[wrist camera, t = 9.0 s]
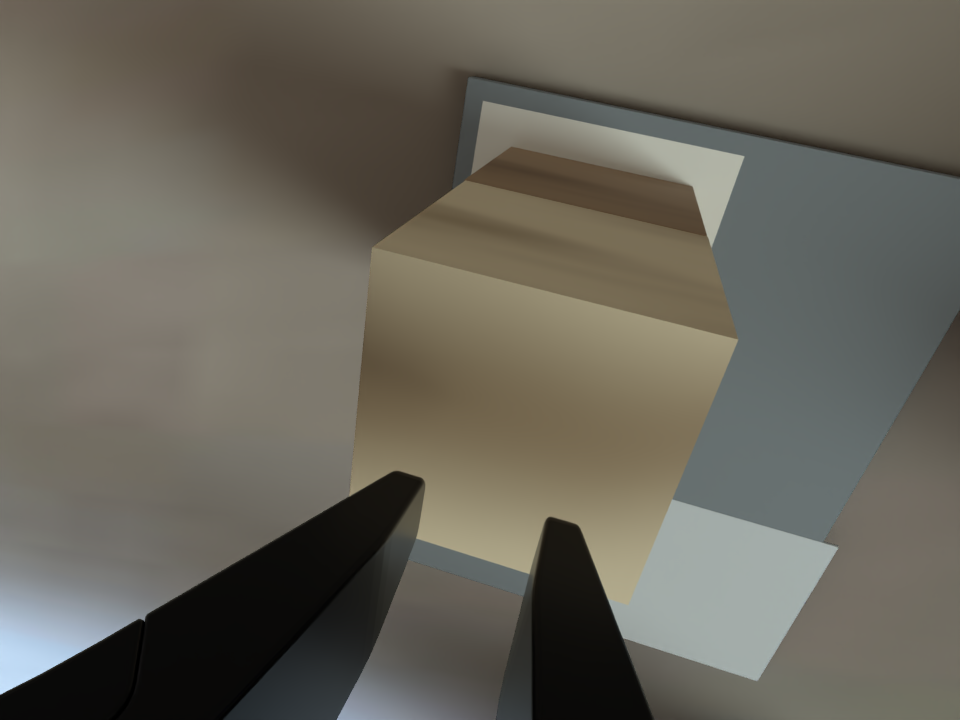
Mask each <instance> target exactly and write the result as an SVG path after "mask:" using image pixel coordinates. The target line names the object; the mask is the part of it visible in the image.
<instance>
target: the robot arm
mask: <svg viewBox="0 0 960 720" xmlns="http://www.w3.org/2000/svg"><path fill="white" fill-rule="evenodd" d="M424 493H425V481H424V480H423V478H421V477H418V476H415V475H411V474H408V473H405V472H401V471H393V472H390V473H389V474H387V475H385V476H383V477H382V478H380V479H378V480H377V481H375V482H373V483H371V484H370V485H368V486H366V487H365V488H363V489H361V490H359V491H358V492H356V493H354V494H353V495H351V496H349V497H347V498H346V499H344V500H342V501H341V502H339V503H337V504H335V505H334V506H332V507H330V508H329V509H327V510H325V511H323V512H322V513H320V514H318V515H317V516H315V517H313V518H311V519H310V520H308V521H306V522H305V523H303V524H301V525H299V526H298V527H296V528H294V529H293V530H291V531H289V532H287V533H286V534H284V535H282V536H281V537H279V538H277V539H275V540H274V541H272V542H270V543H269V544H267V545H265V546H263V547H262V548H260V549H258V550H257V551H255V552H253V553H251V554H250V555H248V556H246V557H245V558H243V559H241V560H239V561H238V562H236V563H234V564H233V565H231V566H229V567H227V568H226V569H224V570H222V571H221V572H219V573H217V574H215V575H214V576H212V577H210V578H209V579H207V580H205V581H203V582H202V583H200V584H198V585H197V586H195V587H193V588H191V589H190V590H188V591H186V592H184V593H183V594H181V595H179V596H178V597H176V598H174V599H172V600H171V601H169V602H167V603H166V604H164V605H162V606H160V607H159V608H157V609H155V610H154V611H152V612H150V613H148V614H147V615H146V617H145V622H144V621H143V620H141V619H138V620H136V621H134V622H132V623H131V624H129V625H127V626H126V627H124V628H122V629H120V630H119V631H117V632H115V633H114V634H112V635H110V636H108V637H107V638H105V639H103V640H102V641H100V642H98V643H96V644H94V645H93V646H91V647H89V648H87V649H85V650H84V651H82V652H80V653H78V654H76V655H74V656H73V657H71V658H69V659H67V660H65V661H64V662H62V663H60V664H58V665H56V666H55V667H53V668H51V669H49V670H47V671H46V672H44V673H42V674H40V675H38V676H36V677H34V678H32V679H30V680H28V681H26V682H24V683H22V684H20V685H18V686H16V687H14V688H12V689H10V690H9V691H7V692H5V693H3V694H1V695H0V720H337V718H338V716H339V714H340V712H341V710H342V708H343V706H344V705H345V703H346V701H347V699H348V697H349V695H350V693H351V691H352V690H353V688H354V686H355V684H356V682H357V680H358V678H359V676H360V674H361V673H362V671H363V669H364V666H365V664H366V662H367V660H368V658H369V656H370V654H371V652H372V650H373V647H374V645H375V643H376V640H377V638H378V636H379V633H380V630H381V628H382V625H383V623H384V620H385V618H386V615H387V613H388V610H389V607H390V605H391V602H392V600H393V597H394V595H395V592H396V589H397V587H398V584H399V582H400V579H401V577H402V574H403V572H404V569H405V566H406V564H407V561H408V559H409V556H410V554H411V551H412V548H413V546H414V543H415V540H416V537H417V533H418V529H419V524H420V518H421V512H422V505H423V499H424ZM496 720H654V718H653V715H652V713H651V710H650V708H649V705H648V702H647V700H646V697H645V694H644V692H643V689H642V687H641V684H640V681H639V679H638V676H637V674H636V671H635V668H634V666H633V663H632V661H631V658H630V655H629V653H628V650H627V648H626V645H625V642H624V640H623V637H622V635H621V632H620V629H619V627H618V624H617V622H616V619H615V616H614V614H613V611H612V609H611V606H610V603H609V601H608V598H607V596H606V593H605V590H604V588H603V585H602V583H601V580H600V577H599V575H598V572H597V570H596V567H595V564H594V562H593V559H592V557H591V554H590V551H589V549H588V546H587V544H586V541H585V538H584V536H583V533H582V531H581V528H580V527H579V526H578V525H577V524H575V523H572V522H568V521H565V520H562V519H558V518H555V517H548V518H547V519H546V520H545V522H544V525H543V528H542V532H541V535H540V539H539V542H538V545H537V549H536V552H535V556H534V559H533V563H532V566H531V570H530V574H529V577H528V581H527V585H526V589H525V593H524V597H523V602H522V606H521V610H520V614H519V618H518V622H517V626H516V630H515V634H514V638H513V642H512V646H511V650H510V654H509V658H508V662H507V666H506V670H505V674H504V679H503V683H502V688H501V693H500V697H499V704H498V710H497V717H496Z"/></svg>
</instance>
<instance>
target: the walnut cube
mask: <svg viewBox="0 0 960 720" xmlns="http://www.w3.org/2000/svg"><path fill="white" fill-rule="evenodd" d="M465 180H466V181H471V182H475V183H479V184H483V185H488V186H492V187H496V188H501V189H505V190H509V191H514V192H518V193H522V194H526V195H531V196H535V197H539V198H544V199H548V200H552V201H556V202H561V203H565V204H569V205H574V206H578V207H582V208H587V209H591V210H595V211H599V212H604V213H608V214H612V215H617V216H621V217H625V218H630V219H634V220H638V221H642V222H647V223H651V224H655V225H660V226H664V227H668V228H673V229H677V230H681V231H685V232H690V233H694V234H698V235H703V236H707V234H706V230H705V227H704V223H703V220H702V217H701V213H700V210H699V206H698V203H697V200H696V196H695V193H694V189H693V186H688V185H684V184H679V183H675V182H670V181H665V180H661V179H656V178H652V177H647V176H643V175H638V174H634V173H629V172H625V171H620V170H616V169H611V168H607V167H602V166H598V165H593V164H588V163H584V162H579V161H575V160H570V159H566V158H561V157H557V156H552V155H548V154H543V153H539V152H534V151H530V150H525V149H520V148H516V147H510V148H509V149H507V150H506V151H504V152H503V153H502V154H500V155H499V156H497V157H496V158H494V159H493V160H492V161H490V162H489V163H487V164H486V165H485V166H483V167H482V168H480V169H479V170H477V171H476V172H475V173H473V174H472V175H470V176H469V177H468V178H466V179H465ZM465 180H464V181H465Z"/></svg>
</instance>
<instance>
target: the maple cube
mask: <svg viewBox="0 0 960 720" xmlns="http://www.w3.org/2000/svg"><path fill="white" fill-rule="evenodd" d="M737 342H738V336H737V333H736V330H735V326H734V323H733V320H732V316H731V313H730V310H729V306H728V303H727V299H726V296H725V293H724V289H723V286H722V283H721V279H720V276H719V272H718V269H717V266H716V262H715V259H714V256H713V252H712V249H711V245H710V242H709V239H708V237H707V236H703V235H698V234H694V233H690V232H685V231H681V230H677V229H673V228H668V227H664V226H660V225H655V224H651V223H647V222H642V221H638V220H634V219H630V218H625V217H621V216H617V215H612V214H608V213H604V212H599V211H595V210H591V209H587V208H582V207H578V206H574V205H569V204H565V203H561V202H556V201H552V200H548V199H544V198H539V197H535V196H531V195H526V194H522V193H518V192H514V191H509V190H505V189H501V188H496V187H492V186H488V185H483V184H479V183H475V182H471V181H466V180H465V181H464V182H463V183H461V184H460V185H458V186H457V187H456V188H454V189H453V190H451V191H450V192H449V193H447V194H446V195H444V196H443V197H442V198H440V199H439V200H437V201H436V202H435V203H433V204H432V205H430V206H429V207H428V208H426V209H425V210H423V211H422V212H421V213H419V214H418V215H416V216H415V217H414V218H412V219H411V220H409V221H408V222H407V223H405V224H404V225H402V226H401V227H400V228H398V229H397V230H395V231H394V232H393V233H391V234H390V235H388V236H387V237H386V238H384V239H383V240H381V241H380V242H379V243H377V244H376V245H374V246H373V247H372V254H371V265H370V276H369V287H368V298H367V309H366V320H365V331H364V341H363V352H362V363H361V374H360V385H359V396H358V407H357V418H356V429H355V440H354V451H353V462H352V473H351V484H350V495H349V496H351V495H353V494H354V493H356V492H358V491H359V490H361V489H363V488H365V487H366V486H368V485H370V484H371V483H373V482H375V481H377V480H378V479H380V478H382V477H383V476H385V475H387V474H389V473H390V472H393V471H401V472H405V473H408V474H411V475H415V476H418V477H421V478H423V480H424V481H425V493H424V499H423V505H422V512H421V518H420V524H419V529H418V533H417V537H416V539H420V540H423V541H426V542H429V543H432V544H436V545H439V546H442V547H445V548H448V549H451V550H455V551H458V552H461V553H464V554H467V555H470V556H474V557H477V558H480V559H483V560H486V561H489V562H493V563H496V564H499V565H502V566H505V567H508V568H512V569H515V570H518V571H521V572H524V573H528V574H530V570H531V566H532V563H533V559H534V556H535V552H536V549H537V545H538V542H539V539H540V535H541V532H542V528H543V525H544V522H545V520H546V519H547V518H548V517H555V518H558V519H562V520H565V521H568V522H572V523H575V524H577V525H578V526H579V527H580V528H581V531H582V533H583V536H584V538H585V541H586V544H587V546H588V549H589V551H590V554H591V557H592V559H593V562H594V564H595V567H596V570H597V572H598V575H599V577H600V580H601V583H602V585H603V588H604V590H605V593H606V596H607V598H608V599H610V600H613V601H616V602H620V603H623V604H626V605H629V602H630V600H631V597H632V595H633V593H634V590H635V588H636V585H637V583H638V581H639V578H640V576H641V573H642V571H643V568H644V566H645V564H646V561H647V559H648V556H649V554H650V552H651V549H652V547H653V544H654V542H655V540H656V537H657V535H658V532H659V530H660V527H661V525H662V523H663V520H664V518H665V515H666V513H667V511H668V508H669V506H670V503H671V501H672V499H673V496H674V494H675V491H676V489H677V487H678V484H679V482H680V479H681V477H682V474H683V472H684V470H685V467H686V465H687V462H688V460H689V458H690V455H691V453H692V450H693V448H694V446H695V443H696V441H697V438H698V436H699V433H700V431H701V429H702V426H703V424H704V421H705V419H706V417H707V414H708V412H709V409H710V407H711V405H712V402H713V400H714V397H715V395H716V393H717V390H718V388H719V385H720V383H721V380H722V378H723V376H724V373H725V371H726V368H727V366H728V364H729V361H730V359H731V356H732V354H733V352H734V349H735V347H736V344H737Z"/></svg>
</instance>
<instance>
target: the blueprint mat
mask: <svg viewBox="0 0 960 720" xmlns="http://www.w3.org/2000/svg"><path fill="white" fill-rule="evenodd" d="M510 147H516V148H520V149H525V150H530V151H534V152H539V153H543V154H548V155H552V156H557V157H561V158H566V159H570V160H575V161H579V162H584V163H588V164H593V165H598V166H602V167H607V168H611V169H616V170H620V171H625V172H629V173H634V174H638V175H643V176H647V177H652V178H656V179H661V180H665V181H670V182H675V183H679V184H684V185H688V186H693V189H694V193H695V196H696V200H697V203H698V206H699V210H700V213H701V217H702V220H703V223H704V227H705V230H706V234H707V237H708V239H709V242H710V245H711V249H712V252H713V256H714V259H715V262H716V266H717V269H718V272H719V276H720V279H721V283H722V286H723V289H724V293H725V296H726V299H727V303H728V306H729V310H730V313H731V316H732V320H733V323H734V326H735V330H736V333H737V336H738V342H737V344H736V347H735V349H734V352H733V354H732V356H731V359H730V361H729V364H728V366H727V368H726V371H725V373H724V376H723V378H722V380H721V383H720V385H719V388H718V390H717V393H716V395H715V397H714V400H713V402H712V405H711V407H710V409H709V412H708V414H707V417H706V419H705V421H704V424H703V426H702V429H701V431H700V433H699V436H698V438H697V441H696V443H695V446H694V448H693V450H692V453H691V455H690V458H689V460H688V462H687V465H686V467H685V470H684V472H683V474H682V477H681V479H680V482H679V484H678V487H677V489H676V491H675V494H674V496H673V499H672V501H671V503H670V506H669V508H668V511H667V513H666V515H665V518H664V520H663V523H662V525H661V527H660V530H659V532H658V535H657V537H656V540H655V542H654V544H653V547H652V549H651V552H650V554H649V556H648V559H647V561H646V564H645V566H644V568H643V571H642V573H641V576H640V578H639V581H638V583H637V585H636V588H635V590H634V593H633V595H632V597H631V600H630V602H629V605H626V604H623V603H620V602H616V601H613V600H610V599H608V601H609V603H610V606H611V609H612V611H613V614H614V616H615V619H616V622H617V624H618V627H619V629H620V632H621V635H622V637H623V638H624V639H627V640H631V641H634V642H637V643H640V644H643V645H646V646H649V647H652V648H656V649H659V650H662V651H665V652H668V653H671V654H674V655H677V656H680V657H684V658H687V659H690V660H693V661H696V662H699V663H702V664H705V665H708V666H712V667H715V668H718V669H721V670H724V671H727V672H730V673H733V674H736V675H740V676H743V677H746V678H749V679H752V680H755V681H758V679H759V678H760V676H761V674H762V673H763V671H764V669H765V668H766V666H767V665H768V663H769V661H770V660H771V658H772V656H773V655H774V653H775V651H776V650H777V648H778V646H779V645H780V643H781V641H782V640H783V638H784V637H785V635H786V633H787V632H788V630H789V628H790V627H791V625H792V623H793V622H794V620H795V618H796V617H797V615H798V613H799V612H800V610H801V609H802V607H803V605H804V604H805V602H806V600H807V599H808V597H809V595H810V594H811V592H812V590H813V589H814V587H815V586H816V584H817V582H818V581H819V579H820V577H821V576H822V574H823V572H824V571H825V569H826V567H827V566H828V564H829V562H830V561H831V559H832V558H833V556H834V554H835V553H836V551H837V549H838V548H839V547H838V545H835V544H831V543H828V542H824V540H825V538H826V536H827V534H828V533H829V531H830V529H831V528H832V526H833V524H834V523H835V521H836V519H837V517H838V516H839V514H840V512H841V511H842V509H843V507H844V506H845V504H846V502H847V500H848V499H849V497H850V495H851V494H852V492H853V490H854V489H855V487H856V485H857V483H858V482H859V480H860V478H861V477H862V475H863V473H864V472H865V470H866V468H867V466H868V465H869V463H870V461H871V460H872V458H873V456H874V455H875V453H876V451H877V449H878V448H879V446H880V444H881V443H882V441H883V439H884V438H885V436H886V434H887V432H888V431H889V429H890V427H891V426H892V424H893V422H894V421H895V419H896V417H897V415H898V414H899V412H900V410H901V409H902V407H903V405H904V404H905V402H906V400H907V398H908V397H909V395H910V393H911V392H912V390H913V388H914V386H915V385H916V383H917V381H918V380H919V378H920V376H921V375H922V373H923V371H924V369H925V368H926V366H927V364H928V363H929V361H930V359H931V358H932V356H933V354H934V352H935V351H936V349H937V347H938V346H939V344H940V342H941V341H942V339H943V337H944V335H945V334H946V332H947V330H948V329H949V327H950V325H951V324H952V322H953V320H954V318H955V317H956V315H957V313H958V312H959V310H960V177H958V176H953V175H948V174H943V173H938V172H934V171H929V170H924V169H919V168H914V167H909V166H905V165H900V164H895V163H890V162H885V161H880V160H876V159H871V158H866V157H861V156H856V155H851V154H847V153H842V152H837V151H832V150H827V149H822V148H818V147H813V146H808V145H803V144H798V143H793V142H789V141H784V140H779V139H774V138H769V137H764V136H760V135H755V134H750V133H745V132H740V131H735V130H731V129H726V128H721V127H716V126H711V125H706V124H702V123H697V122H692V121H687V120H682V119H677V118H673V117H668V116H663V115H658V114H653V113H648V112H644V111H639V110H634V109H629V108H624V107H619V106H615V105H610V104H605V103H600V102H595V101H590V100H586V99H581V98H576V97H571V96H566V95H561V94H557V93H552V92H547V91H542V90H537V89H532V88H528V87H523V86H518V85H513V84H508V83H503V82H499V81H494V80H489V79H484V78H479V77H474V76H473V77H468V83H467V89H466V96H465V103H464V110H463V117H462V124H461V130H460V137H459V144H458V151H457V158H456V165H455V171H454V178H453V185H452V190H453V189H454V188H456V187H457V186H458V185H460V184H461V183H463V182H464V180H465V179H466V178H468V177H469V176H470V175H472V174H473V173H475V172H476V171H477V170H479V169H480V168H482V167H483V166H485V165H486V164H487V163H489V162H490V161H492V160H493V159H494V158H496V157H497V156H499V155H500V154H502V153H503V152H504V151H506V150H507V149H509V148H510ZM408 560H411V561H414V562H417V563H420V564H423V565H426V566H429V567H433V568H436V569H439V570H442V571H445V572H448V573H451V574H455V575H458V576H461V577H464V578H467V579H470V580H473V581H476V582H480V583H483V584H486V585H489V586H492V587H495V588H498V589H502V590H505V591H508V592H511V593H514V594H517V595H520V596H524V593H525V589H526V585H527V581H528V577H529V574H528V573H524V572H521V571H518V570H515V569H512V568H508V567H505V566H502V565H499V564H496V563H493V562H489V561H486V560H483V559H480V558H477V557H474V556H470V555H467V554H464V553H461V552H458V551H455V550H451V549H448V548H445V547H442V546H439V545H436V544H432V543H429V542H426V541H423V540H420V539H416V540H415V543H414V546H413V548H412V551H411V554H410V556H409V559H408Z"/></svg>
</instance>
